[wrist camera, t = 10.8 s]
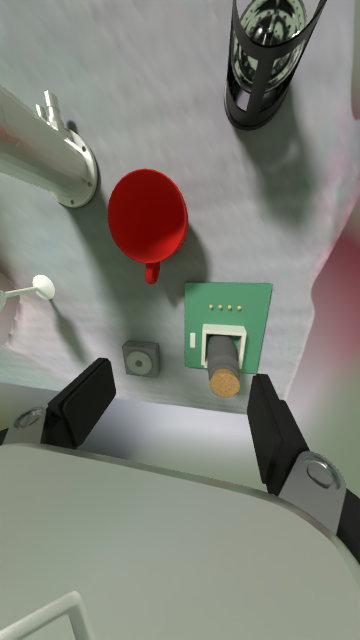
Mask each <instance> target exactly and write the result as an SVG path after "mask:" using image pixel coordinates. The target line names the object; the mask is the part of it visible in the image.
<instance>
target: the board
mask: <svg viewBox="0 0 360 640" xmlns="http://www.w3.org/2000/svg"><path fill="white" fill-rule="evenodd" d="M272 285H273V284H271V283H221V282H185V366H186V367H195V368H205V369H207V358H208V341H209V338H210V336H211V335H212V334H222V335H231V337H232V338H233V341H234V345H235V350H236V354H237V358H238V362H239V372H245V373H255V374H256V373H257V368H258V362H259V357H260V351H261V345H262V340H263V334H264V329H265V323H266V318H267V312H268V307H269V301H270V296H271V290H272Z"/></svg>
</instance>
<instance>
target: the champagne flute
mask: <svg viewBox="0 0 360 640" xmlns="http://www.w3.org/2000/svg"><path fill="white" fill-rule="evenodd" d="M35 291H36V293H37V294H38V295H39V296H40V297H42V298H44V299H51V298H53V296H54V294H55V288H54V285H53V283H52V282H51V281H50V279H48V278H47V277H46V276H43V275H37V276H35V278H34V279H33V287H31V288H25V289H20V290H14V291H9V292H3V291H1V290H0V310H2V308H3V307H4V305H5V302H6V298H7V297H11V296H16V295H21V294H26V293H31V292H35Z"/></svg>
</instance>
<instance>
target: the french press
mask: <svg viewBox="0 0 360 640" xmlns="http://www.w3.org/2000/svg"><path fill="white" fill-rule="evenodd" d="M326 1H327V0H320V2H319V4H318V7H317V9H316V11H315V14H314V16H313V18H312V20H311V21H310V22H309V24H308V25H307V17H306V10H305V7H304V4H303V1H302V0H252V2H251V3H250V4H249V5H248V6H247V8H246V9H245V11H244V12H243V14H242V16H241V18H240V19H239V17H238V11H237V6H236V0H233V7H232V20H231V33H230V45H229V58H228V71H227V80H226V84H225V91H224V106H225V110H226V113H227V116H228V118H229V120H230V121H231V122H232V124H233V125H235V126H236V127H237V128H239V129H241V130H247V131H248V130H255V129H258V128H260V127H262V126H263V125H265V124H266V123H267V122H269V121H270V120H271V119H272V118H273V117H274V115H275V114H276V113H277V112H278V110H279V108H280V107H281V105H282V103H283V101H284V99H285V96H286V93H287V90H288V86H289V84H290V82H291V79H292V77H293V75H294V73H295V71H296V68H297V66H298V64H299V62H300V59H301V57H302V55H303V53H304V50H305V48H306V46H307V44H308V42H309V39H310V37H311V35H312V33H313V30H314V28H315V26H316V24H317V21H318V19H319V17H320V15H321V13H322V10H323V8H324V6H325V4H326ZM234 31H235V33H234V36H233V32H234ZM235 79H236V81H237V83H238V84H239V85H240V87H241V88H242V89H243V90H244V91H245V92H247V93H249V94H250V98H249V102H248V106H247V110H246V111H245V110H242V109H241V108H240V107H238V106H237V105H236V103H235V102H234V101H233V86H234V82H235ZM279 84H280V86H279V90H278V94H277V96H276V98H275V100H274V102H273V103H272V105H271V106H269V107H267V108H266V109H264V110H261V111H259V109H260V106H261V103H262V100H263V96H264V94H265V93H267V92H270V91H271V90H273V89H274V88H276V87H277V86H278V85H279Z"/></svg>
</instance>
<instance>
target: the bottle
mask: <svg viewBox="0 0 360 640" xmlns="http://www.w3.org/2000/svg"><path fill="white" fill-rule="evenodd" d="M207 369H208V373H209V381H210V388H211V390H212V391H213V392H214V393H215V394H216V395H218V396H221V397H231V396H234V395H235V394H236V393H238V391H239V389H240V383H239V380H240V377H239V362H238V358H237V354H236V350H235V345H234V341H233V338H232V337H231V335H222V334H212V335H211V336H210V338H209V341H208V358H207Z"/></svg>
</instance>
